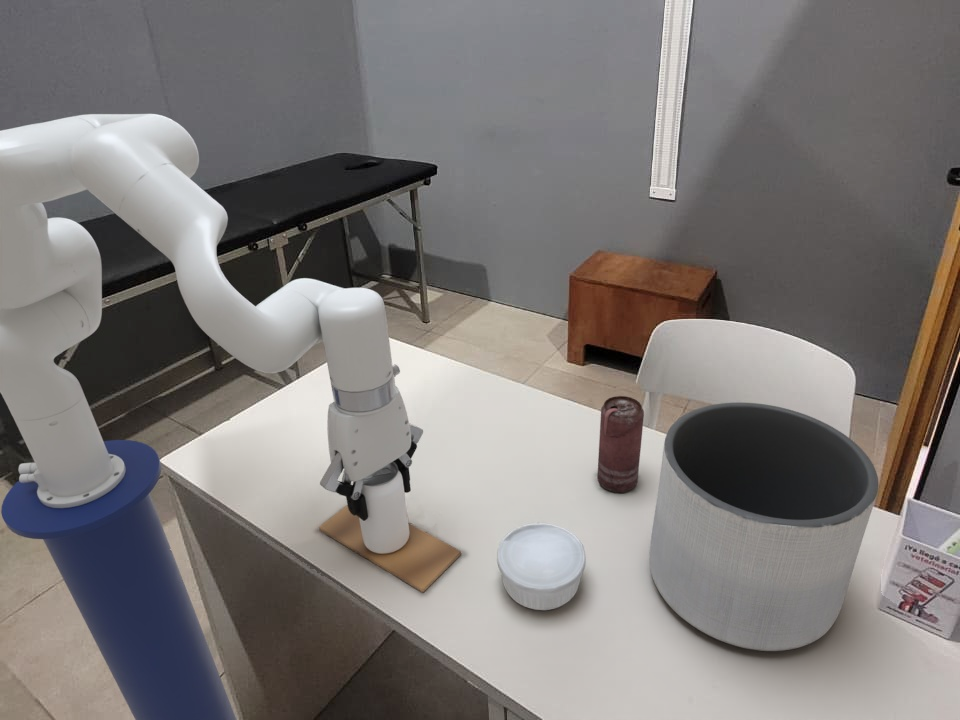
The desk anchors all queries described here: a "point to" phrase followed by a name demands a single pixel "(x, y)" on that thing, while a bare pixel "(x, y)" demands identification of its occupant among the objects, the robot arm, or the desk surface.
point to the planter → (759, 523)
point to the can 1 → (385, 511)
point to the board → (410, 563)
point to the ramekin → (541, 565)
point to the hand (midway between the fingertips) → (381, 500)
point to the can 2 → (620, 443)
